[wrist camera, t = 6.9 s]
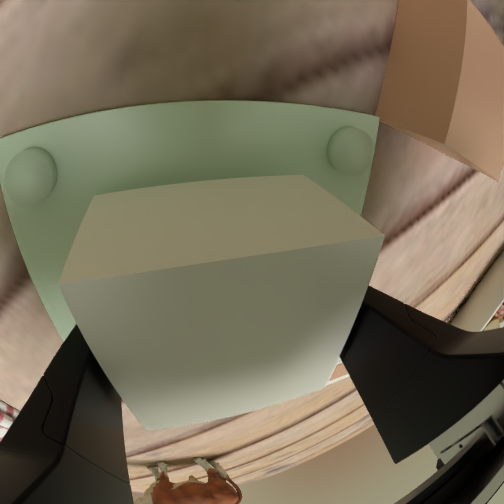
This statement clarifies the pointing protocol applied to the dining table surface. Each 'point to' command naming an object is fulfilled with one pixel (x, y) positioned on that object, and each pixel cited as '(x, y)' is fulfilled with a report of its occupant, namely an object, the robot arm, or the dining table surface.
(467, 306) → the bowl
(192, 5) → the dining table surface
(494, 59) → the terracotta brick
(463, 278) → the dining table surface
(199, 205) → the cream brick
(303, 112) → the plate
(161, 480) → the bull figurine
